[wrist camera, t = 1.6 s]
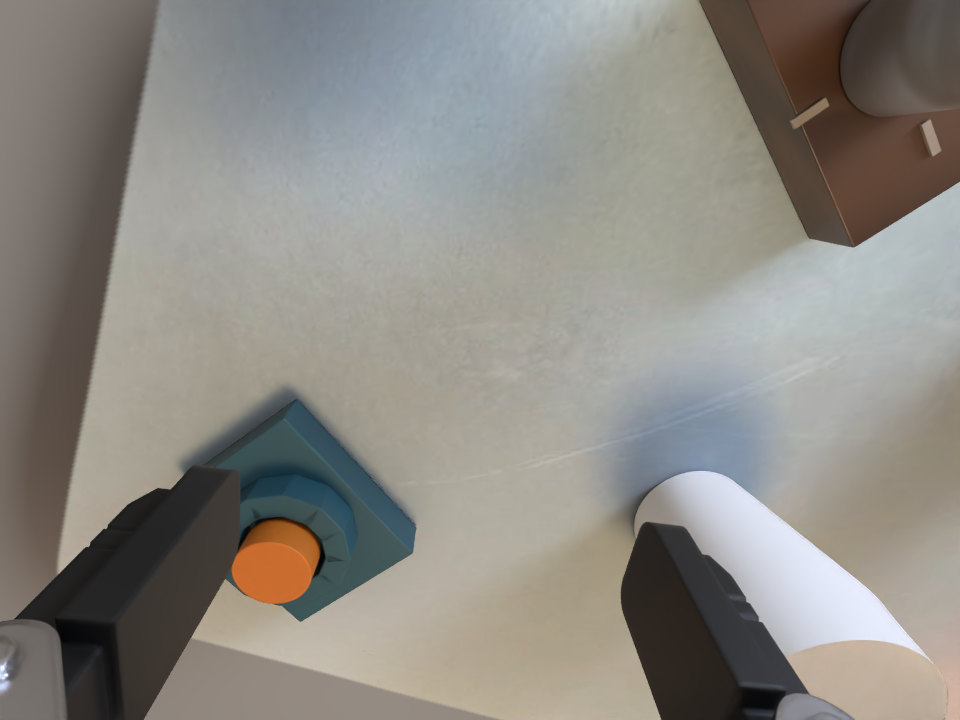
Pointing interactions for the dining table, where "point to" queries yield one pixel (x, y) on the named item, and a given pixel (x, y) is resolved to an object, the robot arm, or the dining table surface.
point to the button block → (317, 503)
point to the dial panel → (830, 119)
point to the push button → (276, 561)
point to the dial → (903, 57)
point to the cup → (804, 601)
